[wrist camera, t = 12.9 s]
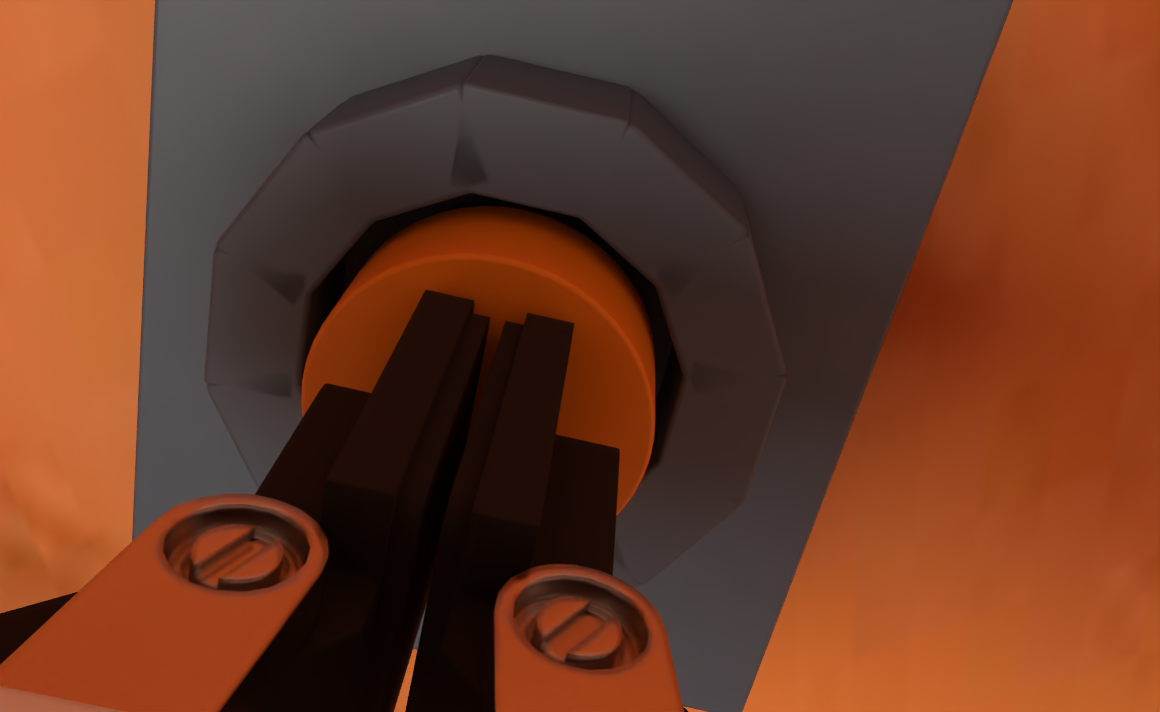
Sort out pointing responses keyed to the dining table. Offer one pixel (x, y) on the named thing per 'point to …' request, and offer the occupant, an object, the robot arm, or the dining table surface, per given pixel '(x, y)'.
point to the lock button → (507, 318)
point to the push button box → (580, 200)
